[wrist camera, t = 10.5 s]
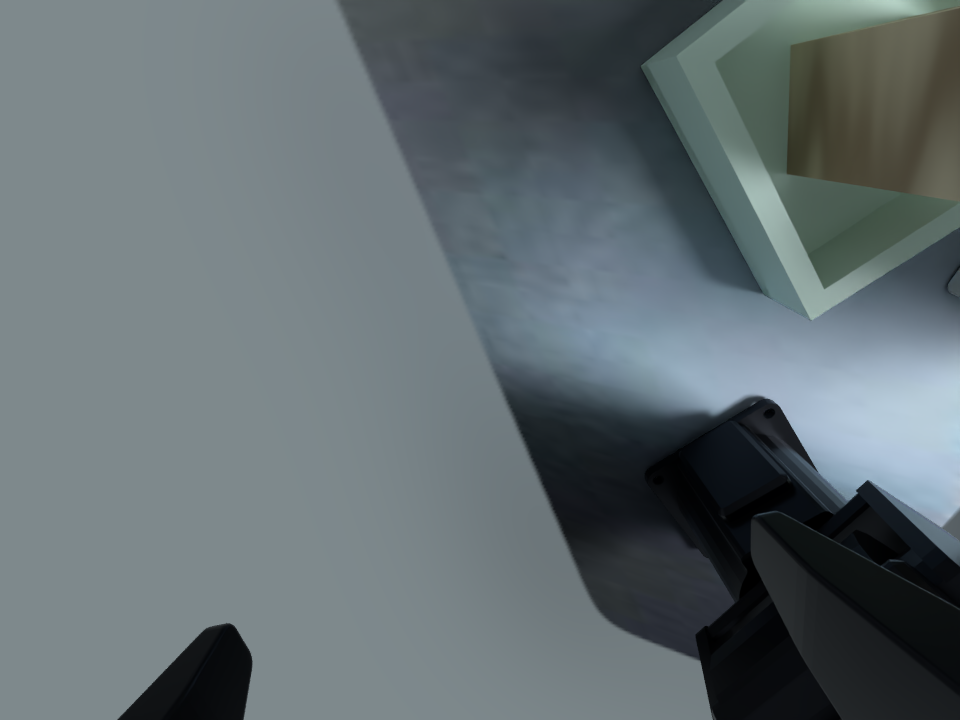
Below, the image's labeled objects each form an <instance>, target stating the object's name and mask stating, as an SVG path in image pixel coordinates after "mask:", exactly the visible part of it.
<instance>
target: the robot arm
mask: <svg viewBox="0 0 960 720" xmlns="http://www.w3.org/2000/svg"><path fill="white" fill-rule="evenodd" d="M769 408H770V410H769V411H768V412H767V413H765V414H764V412H765V411H766V410H767V409H769ZM658 475H659V476H660V477H659V478H657V479H654V478H655V477H656V476H658ZM645 479H646V481H647V483H648V485H649V486H650V488H651V489H652V490H653V492H654V493H655V494H656V495H657V497H658V498H659V499H660V501H661V502H662V503H663V504H664V506H665V507H666V508H667V510H668V511H669V512H670V513H671V515H672V516H673V517H674V518H675V520H676V521H677V522H678V524H679V525H680V526H681V527H682V529H683V530H684V531H685V533H686V534H687V535H688V536H689V538H690V539H691V540H692V542H693V543H694V544H695V545H696V547H697V548H698V549H699V550H700V552H701V553H702V554H703V556H705V557H706V558H709V559H710V561H711V563H712V564H713V566H714V568H715V569H716V571H717V573H718V574H719V576H720V578H721V579H722V581H723V583H724V584H725V586H726V588H727V590H728V591H729V593H730V595H731V596H732V598H733V600H734V601H735V604H733V605H732V606H731V607H730V608H729V609H728V610H727V611H726V612H725V613H723V614H722V615H721V616H720V617H719V618H718V619H717V620H716V621H714V622H713V623H712V624H711V625H710V626H709V627H708V626H705V627H704V628H702V629H701V630H700V631H699V632H698V633H697V634H696V641H697V646H698V651H699V656H700V660H701V665H702V670H703V674H704V680H705V684H706V689H707V694H708V699H709V704H710V709H711V713H712V717H713V720H960V541H959V540H958V539H956V538H955V537H954V536H952V535H951V534H950V533H948V532H947V531H945V530H944V529H943V528H941V527H939V526H938V525H936V524H935V523H933V522H932V521H930V520H929V519H927V518H926V517H924V516H923V515H921V514H920V513H918V512H917V511H915V510H914V509H912V508H910V507H909V506H907V505H906V504H904V503H903V502H901V501H900V500H898V499H897V498H895V497H894V496H892V495H891V494H889V493H888V492H886V491H885V490H883V489H881V488H880V487H878V486H877V485H875V484H874V483H872V482H871V481H869V480H867V481H866V482H865V483H864V484H863V485H862V486H861V487H859V488H858V489H857V490H856V491H857V493H858V494H856V495H855V496H854V497H853V498H852V499H851V500H850V501H849V502H848V501H847V500H846V499H845V498H844V497H843V496H842V495H841V494H840V493H839V492H838V491H837V490H836V489H835V488H834V487H833V486H832V485H830V484H829V483H828V482H827V481H826V480H825V479H824V478H823V477H822V476H821V475H820V474H819V473H818V471H817V469H816V468H815V466H814V464H813V463H812V461H811V459H810V457H809V456H808V454H807V452H806V451H805V449H804V447H803V446H802V444H801V442H800V440H799V439H798V437H797V435H796V434H795V432H794V430H793V429H792V427H791V425H790V423H789V422H788V420H787V418H786V417H785V415H784V413H783V411H782V410H781V408H780V407H779V406H778V405H777V404H776V403H775V402H774V401H773V400H770V399H763V400H761V401H759V402H757V403H756V404H754V405H752V406H751V407H749V408H747V409H746V410H744V411H742V412H741V413H739V414H737V415H736V416H734V417H733V418H731V419H729V420H728V421H726V422H724V423H723V424H721V425H719V426H718V427H716V428H714V429H713V430H711V431H710V432H708V433H706V434H705V435H703V436H701V437H700V438H698V439H696V440H695V441H693V442H691V443H690V444H688V445H687V446H685V447H683V448H682V449H680V450H678V451H677V452H675V453H673V454H672V455H670V456H669V457H667V458H665V459H664V460H662V461H660V462H659V463H657V464H655V465H654V466H652V467H650V468H649V469H648V470H647V471H646V473H645ZM251 672H252V656H251V653H250V651H249V649H248V647H247V646H246V644H245V642H244V641H243V639H242V638H241V636H240V634H239V632H238V631H237V629H236V628H235V626H234V625H232V624H230V623H226V624H221V625H217V626H212V627H209V628H206V629H205V630H204V631H203V632H202V633H201V634H200V635H199V636H198V637H197V638H196V639H195V640H194V641H193V642H192V643H191V644H190V645H189V646H188V647H187V648H186V649H185V650H184V651H183V652H182V653H181V654H180V655H179V656H178V657H177V658H176V660H175V661H174V662H173V663H172V664H171V665H170V666H169V667H168V668H167V669H166V670H165V671H164V672H163V673H162V674H161V675H160V676H159V677H158V678H157V679H156V680H155V682H153V683H152V685H151V686H149V687H148V689H147V690H146V691H145V692H144V693H143V694H142V695H141V696H140V697H139V698H138V699H137V700H136V701H135V702H134V703H133V704H132V705H131V706H130V707H129V708H128V709H127V710H126V712H124V713H123V714H122V715H121V716H120V718H119V719H118V720H243V719H244V714H245V708H246V702H247V695H248V690H249V684H250V677H251Z"/></svg>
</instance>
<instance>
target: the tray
mask: <svg viewBox="0 0 960 720" xmlns="http://www.w3.org/2000/svg"><path fill="white" fill-rule="evenodd" d="M956 6H960V0H723V1H721V2H720V3H719V4H718V5H716V6H715V7H714V8H713V9H711V10H710V11H709V12H707V13H706V14H705V15H704V16H702V17H701V18H700V19H699V20H697V21H696V22H695V23H694V24H692V25H691V26H690V27H689V28H687V29H686V30H685V31H684V32H682V33H681V34H680V35H679V36H677V37H676V38H675V39H674V40H672V41H671V42H670V43H669V44H667V45H666V46H665V47H664V48H662V49H661V50H660V51H659V52H657V53H656V54H655V55H654V56H652V57H651V58H650V59H649V60H647V61H646V62H645V63H644V64H642V65H641V68H642V70H643V72H644V74H645V76H646V77H647V79H648V81H649V83H650V85H651V87H652V89H653V90H654V92H655V94H656V96H657V98H658V100H659V102H660V103H661V105H662V107H663V109H664V111H665V113H666V114H667V116H668V118H669V120H670V122H671V124H672V126H673V127H674V129H675V131H676V133H677V135H678V137H679V138H680V140H681V142H682V144H683V146H684V148H685V150H686V151H687V153H688V155H689V157H690V159H691V161H692V162H693V164H694V166H695V168H696V170H697V172H698V174H699V175H700V177H701V179H702V181H703V183H704V185H705V187H706V188H707V190H708V192H709V194H710V196H711V198H712V199H713V201H714V203H715V205H716V207H717V209H718V211H719V212H720V214H721V216H722V218H723V220H724V222H725V223H726V225H727V227H728V229H729V231H730V233H731V235H732V236H733V238H734V240H735V242H736V244H737V246H738V247H739V249H740V251H741V253H742V255H743V257H744V259H745V260H746V262H747V264H748V266H749V268H750V270H751V272H752V273H753V275H754V277H755V279H756V281H757V283H758V284H759V286H760V288H761V290H762V292H763V294H764V295H765V296H767V297H769V298H771V299H773V300H774V301H776V302H778V303H780V304H782V305H784V306H785V307H787V308H789V309H791V310H793V311H794V312H796V313H798V314H800V315H802V316H803V317H805V318H807V319H809V320H811V321H812V320H813V319H815V318H817V317H818V316H820V315H821V314H823V313H824V312H826V311H828V310H829V309H831V308H832V307H834V306H836V305H837V304H839V303H840V302H842V301H844V300H845V299H847V298H848V297H850V296H851V295H853V294H855V293H856V292H858V291H859V290H861V289H863V288H864V287H866V286H867V285H869V284H871V283H872V282H874V281H875V280H877V279H878V278H880V277H882V276H883V275H885V274H886V273H888V272H890V271H891V270H893V269H894V268H896V267H897V266H899V265H901V264H902V263H904V262H905V261H907V260H909V259H910V258H912V257H913V256H915V255H917V254H918V253H920V252H921V251H923V250H924V249H926V248H928V247H929V246H931V245H932V244H934V243H936V242H937V241H939V240H940V239H942V238H944V237H945V236H947V235H948V234H950V233H951V232H953V231H955V230H956V229H958V228H959V227H960V202H959V201H953V200H946V199H940V198H934V197H927V196H921V195H915V194H909V193H902V192H896V191H890V190H883V189H877V188H871V187H865V186H858V185H852V184H846V183H839V182H833V181H827V180H821V179H814V178H808V177H802V176H795V175H789V174H787V145H788V114H789V82H790V51H791V45H794V44H798V43H802V42H806V41H810V40H815V39H819V38H823V37H827V36H832V35H836V34H840V33H844V32H849V31H853V30H857V29H861V28H865V27H870V26H874V25H878V24H882V23H887V22H891V21H895V20H899V19H903V18H908V17H912V16H916V15H921V14H925V13H930V12H934V11H939V10H943V9H947V8H952V7H956Z"/></svg>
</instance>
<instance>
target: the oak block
mask: <svg viewBox="0 0 960 720" xmlns="http://www.w3.org/2000/svg"><path fill="white" fill-rule="evenodd" d="M787 174H789V175H795V176H802V177H808V178H814V179H821V180H827V181H833V182H839V183H846V184H852V185H858V186H865V187H871V188H877V189H883V190H890V191H896V192H902V193H909V194H915V195H921V196H927V197H934V198H940V199H946V200H953V201H959V202H960V6H956V7H952V8H947V9H943V10H939V11H934V12H930V13H925V14H921V15H916V16H912V17H908V18H903V19H899V20H895V21H891V22H887V23H882V24H878V25H874V26H870V27H865V28H861V29H857V30H853V31H849V32H844V33H840V34H836V35H832V36H827V37H823V38H819V39H815V40H810V41H806V42H802V43H798V44H794V45H791V51H790V82H789V114H788V145H787Z"/></svg>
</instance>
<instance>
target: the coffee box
mask: <svg viewBox="0 0 960 720" xmlns="http://www.w3.org/2000/svg"><path fill="white" fill-rule="evenodd" d="M948 291H949V293H951V294H952V295H955V296H957V297H960V268H959V270H958V271H957V272H956V274H955V275H954V276H953V278H952V279H951V281H950V282H949V283H948Z"/></svg>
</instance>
